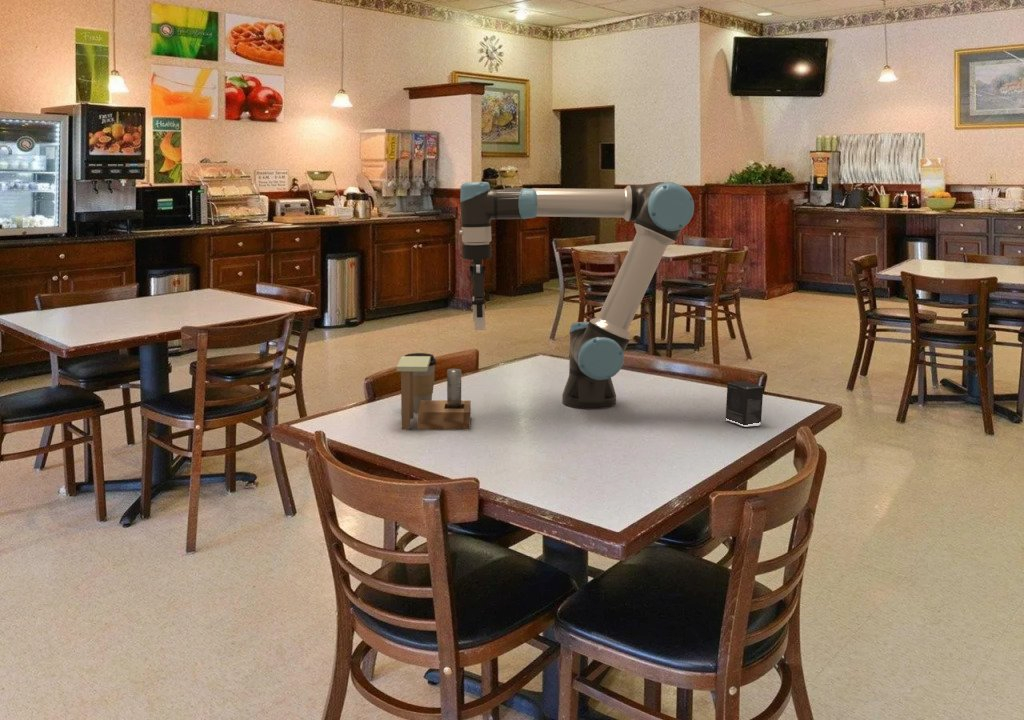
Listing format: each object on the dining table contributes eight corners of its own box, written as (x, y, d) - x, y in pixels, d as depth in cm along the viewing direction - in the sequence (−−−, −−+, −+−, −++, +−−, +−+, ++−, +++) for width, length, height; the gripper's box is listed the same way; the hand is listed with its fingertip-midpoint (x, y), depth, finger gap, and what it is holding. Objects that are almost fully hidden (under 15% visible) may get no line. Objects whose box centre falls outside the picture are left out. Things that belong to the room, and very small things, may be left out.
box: (761, 426, 241) (764, 386, 239) (743, 428, 239) (746, 388, 237) (741, 418, 248) (744, 380, 246) (724, 421, 246) (726, 381, 244)
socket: (470, 417, 247) (470, 400, 246) (469, 429, 235) (469, 412, 234) (421, 416, 247) (421, 400, 246) (417, 429, 235) (417, 412, 234)
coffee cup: (431, 415, 248) (430, 360, 245) (397, 413, 250) (396, 358, 247) (440, 406, 257) (440, 353, 254) (408, 404, 259) (407, 351, 256)
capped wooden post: (430, 416, 247) (430, 356, 244) (427, 429, 235) (426, 366, 231) (402, 416, 247) (401, 356, 244) (397, 429, 234) (396, 366, 231)
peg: (461, 421, 243) (461, 368, 240) (461, 425, 239) (461, 371, 237) (447, 421, 243) (447, 368, 240) (447, 425, 239) (446, 371, 236)
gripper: (461, 240, 251) (464, 318, 256) (462, 247, 227) (465, 334, 231) (489, 239, 252) (491, 317, 256) (493, 247, 227) (495, 333, 232)
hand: (479, 325), depth 244 cm, fingers open, 13 cm apart
